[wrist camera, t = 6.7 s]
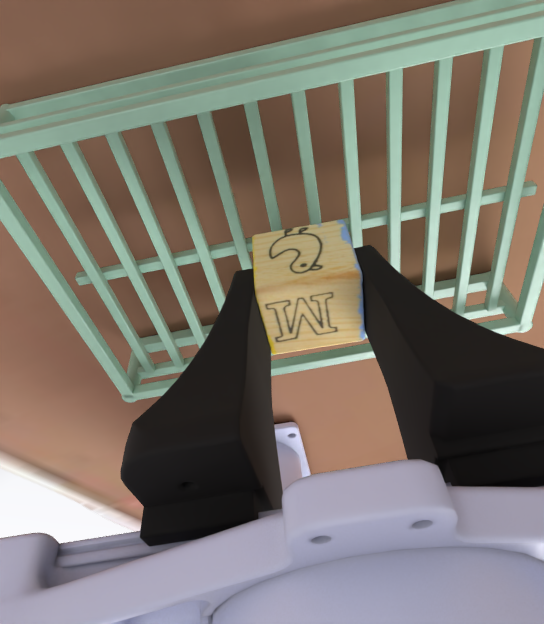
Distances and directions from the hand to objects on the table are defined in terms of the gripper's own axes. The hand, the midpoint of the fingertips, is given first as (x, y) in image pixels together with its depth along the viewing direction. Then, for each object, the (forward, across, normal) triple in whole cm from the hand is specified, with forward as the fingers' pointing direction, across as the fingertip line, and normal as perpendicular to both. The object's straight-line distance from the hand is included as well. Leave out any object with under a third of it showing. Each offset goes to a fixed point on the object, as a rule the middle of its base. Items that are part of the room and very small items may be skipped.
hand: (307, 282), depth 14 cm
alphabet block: (+2, 0, 0) cm, 2 cm away
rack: (+5, 0, 0) cm, 5 cm away
